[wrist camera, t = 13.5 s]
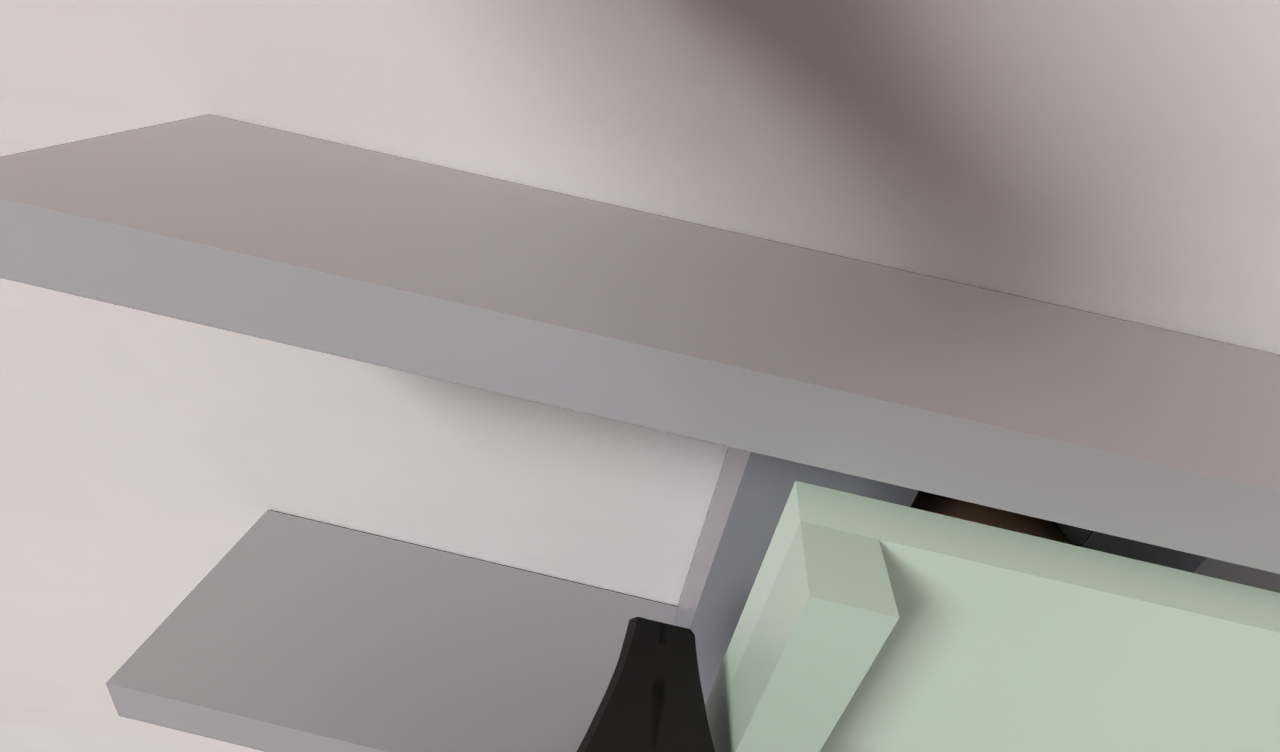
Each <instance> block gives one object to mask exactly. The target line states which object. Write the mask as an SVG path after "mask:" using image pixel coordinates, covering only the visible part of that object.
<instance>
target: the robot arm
mask: <svg viewBox="0 0 1280 752" xmlns="http://www.w3.org/2000/svg"><path fill="white" fill-rule="evenodd" d="M576 752H715V750H714V745H713V741H712V737H711V733H710V728H709V724H708V719H707V714H706V709H705V704H704V698H703V693H702V688H701V682H700V675H699V669H698V661H697V653H696V643H695V635H694V633H693V632H692V631H691V629H688V628H683V627H679V626H675V625H671V624H667V623H662V622H658V621H654V620H650V619H645V618H641V617H635V618H632V619H629V623H628V626H627V630H626V634H625V638H624V641H623V645H622V649H621V652H620V656H619V660H618V663H617V665H616V668H615V671H614V673H613V676H612V678H611V680H610V683H609V685H608V688H607V690H606V692H605V695H604V697H603V699H602V701H601V703H600V705H599V707H598V709H597V711H596V714H595V716H594V718H593V720H592V722H591V724H590V726H589V728H588V730H587V732H586V734H585V736H584V738H583V740H582V742H581V744H580V746H579V748H578V750H577V751H576Z"/></svg>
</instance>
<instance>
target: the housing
mask: <svg viewBox="0 0 1280 752" xmlns="http://www.w3.org/2000/svg"><path fill="white" fill-rule="evenodd" d="M0 278H3V279H8V280H12V281H16V282H20V283H25V284H29V285H33V286H38V287H42V288H46V289H51V290H55V291H59V292H64V293H68V294H72V295H77V296H81V297H85V298H90V299H94V300H98V301H103V302H107V303H111V304H115V305H120V306H124V307H128V308H133V309H137V310H141V311H146V312H150V313H154V314H159V315H163V316H167V317H172V318H176V319H180V320H185V321H189V322H193V323H198V324H202V325H206V326H210V327H215V328H219V329H223V330H228V331H232V332H236V333H241V334H245V335H249V336H254V337H258V338H262V339H267V340H271V341H275V342H280V343H284V344H288V345H293V346H297V347H301V348H305V349H310V350H314V351H318V352H323V353H327V354H331V355H336V356H340V357H344V358H349V359H353V360H357V361H362V362H366V363H370V364H375V365H379V366H383V367H388V368H392V369H396V370H400V371H405V372H409V373H413V374H418V375H422V376H426V377H431V378H435V379H439V380H444V381H448V382H452V383H457V384H461V385H465V386H470V387H474V388H478V389H483V390H487V391H491V392H495V393H500V394H504V395H508V396H513V397H517V398H521V399H526V400H530V401H534V402H539V403H543V404H547V405H552V406H556V407H560V408H565V409H569V410H573V411H578V412H582V413H586V414H590V415H595V416H599V417H603V418H608V419H612V420H616V421H621V422H625V423H629V424H634V425H638V426H642V427H647V428H651V429H655V430H660V431H664V432H668V433H673V434H677V435H681V436H685V437H690V438H694V439H698V440H703V441H707V442H711V443H716V444H720V445H724V446H729V448H728V451H727V455H726V458H725V461H724V464H723V467H722V470H721V473H720V476H719V479H718V482H717V486H716V489H715V492H714V495H713V498H712V501H711V504H710V507H709V510H708V513H707V516H706V520H705V523H704V526H703V529H702V532H701V535H700V538H699V541H698V544H697V547H696V551H695V554H694V557H693V560H692V563H691V566H690V569H689V572H688V575H687V578H686V581H685V585H684V588H683V591H682V594H681V597H680V600H679V603H678V606H677V607H676V606H672V605H668V604H663V603H659V602H655V601H651V600H647V599H642V598H638V597H634V596H630V595H625V594H621V593H617V592H613V591H609V590H604V589H600V588H596V587H592V586H587V585H583V584H579V583H575V582H571V581H566V580H562V579H558V578H554V577H549V576H545V575H541V574H537V573H533V572H528V571H524V570H520V569H516V568H511V567H507V566H503V565H499V564H495V563H490V562H486V561H482V560H478V559H473V558H469V557H465V556H461V555H457V554H452V553H448V552H444V551H440V550H435V549H431V548H427V547H423V546H419V545H414V544H410V543H406V542H402V541H397V540H393V539H389V538H385V537H381V536H376V535H372V534H368V533H364V532H359V531H355V530H351V529H347V528H342V527H338V526H334V525H330V524H326V523H321V522H317V521H313V520H309V519H304V518H300V517H296V516H292V515H288V514H283V513H279V512H275V511H271V510H267V511H266V512H265V513H264V515H263V516H262V517H261V518H260V519H259V520H258V521H257V522H256V523H255V524H254V525H253V526H252V527H251V528H250V530H249V531H248V532H247V533H246V534H245V535H244V536H243V537H242V538H241V539H240V540H239V541H238V542H237V543H236V545H235V546H234V547H233V548H232V549H231V550H230V551H229V552H228V553H227V554H226V555H225V556H224V557H223V558H222V560H221V561H220V562H219V563H218V564H217V565H216V566H215V567H214V568H213V569H212V570H211V571H210V572H209V573H208V575H207V576H206V577H205V578H204V579H203V580H202V581H201V582H200V583H199V584H198V585H197V586H196V587H195V588H194V590H193V591H192V592H191V593H190V594H189V595H188V596H187V597H186V598H185V599H184V600H183V601H182V602H181V603H180V605H179V606H178V607H177V608H176V609H175V610H174V611H173V612H172V613H171V614H170V615H169V616H168V617H167V619H166V620H165V621H164V622H163V623H162V624H161V625H160V626H159V627H158V628H157V629H156V630H155V631H154V632H153V634H152V635H151V636H150V637H149V638H148V639H147V640H146V641H145V642H144V643H143V644H142V645H141V646H140V647H139V649H138V650H137V651H136V652H135V653H134V654H133V655H132V656H131V657H130V658H129V659H128V660H127V661H126V662H125V664H124V665H123V666H122V667H121V668H120V669H119V670H118V671H117V672H116V673H115V674H114V675H113V676H112V677H111V679H110V680H109V681H108V682H107V683H106V685H107V687H108V690H109V692H110V695H111V697H112V700H113V702H114V705H115V707H116V710H117V712H118V715H119V716H122V717H126V718H130V719H134V720H138V721H143V722H147V723H151V724H155V725H159V726H163V727H167V728H171V729H175V730H179V731H183V732H188V733H192V734H196V735H200V736H204V737H208V738H212V739H216V740H220V741H224V742H228V743H233V744H237V745H241V746H245V747H249V748H253V749H257V750H261V751H265V752H576V751H577V750H578V748H579V746H580V744H581V742H582V740H583V738H584V736H585V734H586V732H587V730H588V728H589V726H590V724H591V722H592V720H593V718H594V716H595V714H596V711H597V709H598V707H599V705H600V703H601V701H602V699H603V697H604V695H605V692H606V690H607V688H608V685H609V683H610V680H611V678H612V676H613V673H614V671H615V668H616V665H617V663H618V660H619V656H620V652H621V649H622V645H623V641H624V638H625V634H626V630H627V626H628V623H629V619H632V618H635V617H641V618H645V619H650V620H654V621H658V622H662V623H667V624H671V625H675V626H679V627H683V628H688V629H691V631H692V632H693V633H694V635H695V643H696V653H697V661H698V669H699V675H700V682H701V688H702V693H703V698H704V704H705V703H706V701H707V699H708V696H709V694H710V691H711V689H712V686H713V684H714V681H715V679H716V676H717V674H718V671H719V669H720V666H721V664H722V661H723V659H724V656H725V654H726V651H727V649H728V646H729V644H730V642H731V639H732V637H733V634H734V632H735V629H736V627H737V624H738V622H739V619H740V617H741V614H742V612H743V609H744V607H745V604H746V602H747V599H748V597H749V594H750V592H751V589H752V587H753V585H754V582H755V580H756V577H757V575H758V572H759V570H760V567H761V565H762V562H763V560H764V557H765V555H766V552H767V550H768V547H769V545H770V542H771V540H772V537H773V535H774V532H775V530H776V528H777V525H778V523H779V520H780V518H781V515H782V513H783V510H784V508H785V505H786V503H787V500H788V498H789V495H790V493H791V490H792V488H793V485H794V483H795V481H799V482H804V483H808V484H812V485H816V486H821V487H825V488H829V489H834V490H838V491H842V492H847V493H851V494H855V495H860V496H864V497H868V498H873V499H877V500H881V501H885V502H890V503H894V504H898V505H903V506H907V507H911V505H912V503H913V501H914V499H915V497H916V495H917V494H918V492H919V491H923V492H927V493H932V494H936V495H940V496H945V497H949V498H953V499H958V500H962V501H966V502H971V503H975V504H979V505H983V506H988V507H992V508H996V509H1001V510H1005V511H1009V512H1014V513H1018V514H1022V515H1027V516H1031V517H1035V518H1040V519H1044V520H1048V521H1053V522H1057V523H1061V524H1066V525H1070V526H1074V527H1078V528H1083V529H1087V530H1091V531H1094V532H1093V533H1092V534H1091V536H1090V537H1089V538H1088V540H1087V541H1086V542H1085V544H1084V545H1083V546H1082V547H1084V548H1088V549H1092V550H1097V551H1101V552H1105V553H1109V554H1114V555H1118V556H1122V557H1127V558H1131V559H1135V560H1140V561H1144V562H1148V563H1153V564H1157V565H1161V566H1165V567H1170V568H1174V569H1178V570H1183V571H1187V572H1191V573H1196V574H1200V575H1204V576H1209V577H1213V578H1217V579H1221V580H1226V581H1230V582H1234V583H1239V584H1243V585H1247V586H1252V587H1256V588H1260V589H1265V590H1269V591H1273V592H1277V593H1280V355H1276V354H1272V353H1268V352H1263V351H1259V350H1254V349H1250V348H1245V347H1241V346H1236V345H1232V344H1228V343H1223V342H1219V341H1214V340H1210V339H1205V338H1201V337H1196V336H1192V335H1188V334H1183V333H1179V332H1174V331H1170V330H1165V329H1161V328H1157V327H1152V326H1148V325H1143V324H1139V323H1134V322H1130V321H1125V320H1121V319H1117V318H1112V317H1108V316H1103V315H1099V314H1094V313H1090V312H1085V311H1081V310H1077V309H1072V308H1068V307H1063V306H1059V305H1054V304H1050V303H1045V302H1041V301H1037V300H1032V299H1028V298H1023V297H1019V296H1014V295H1010V294H1005V293H1001V292H997V291H992V290H988V289H983V288H979V287H974V286H970V285H965V284H961V283H957V282H952V281H948V280H943V279H939V278H934V277H930V276H925V275H921V274H917V273H912V272H908V271H903V270H899V269H894V268H890V267H885V266H881V265H877V264H872V263H868V262H863V261H859V260H854V259H850V258H845V257H841V256H837V255H832V254H828V253H823V252H819V251H814V250H810V249H805V248H801V247H797V246H792V245H788V244H783V243H779V242H774V241H770V240H765V239H761V238H757V237H752V236H748V235H743V234H739V233H734V232H730V231H725V230H721V229H717V228H712V227H708V226H703V225H699V224H694V223H690V222H685V221H681V220H677V219H672V218H668V217H663V216H659V215H654V214H650V213H646V212H641V211H637V210H632V209H628V208H623V207H619V206H614V205H610V204H606V203H601V202H597V201H592V200H588V199H583V198H579V197H574V196H570V195H566V194H561V193H557V192H552V191H548V190H543V189H539V188H534V187H530V186H526V185H521V184H517V183H512V182H508V181H503V180H499V179H494V178H490V177H486V176H481V175H477V174H472V173H468V172H463V171H459V170H454V169H450V168H446V167H441V166H437V165H432V164H428V163H423V162H419V161H414V160H410V159H406V158H401V157H397V156H392V155H388V154H383V153H379V152H374V151H370V150H366V149H361V148H357V147H352V146H348V145H343V144H339V143H334V142H330V141H326V140H321V139H317V138H312V137H308V136H303V135H299V134H294V133H290V132H286V131H281V130H277V129H272V128H268V127H263V126H259V125H254V124H250V123H246V122H241V121H237V120H232V119H228V118H223V117H219V116H214V115H210V114H207V115H203V116H198V117H193V118H188V119H183V120H178V121H173V122H168V123H163V124H158V125H154V126H149V127H144V128H139V129H134V130H129V131H124V132H119V133H114V134H109V135H105V136H100V137H95V138H90V139H85V140H80V141H75V142H70V143H65V144H60V145H56V146H51V147H46V148H41V149H36V150H31V151H26V152H21V153H16V154H12V155H7V156H2V157H0Z"/></svg>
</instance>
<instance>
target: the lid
mask: <svg viewBox="0 0 1280 752" xmlns="http://www.w3.org/2000/svg"><path fill="white" fill-rule="evenodd" d="M705 709H706V714H707V719H708V724H709V728H710V733H711V737H712V741H713V745H714V750H715V752H1280V593H1277V592H1273V591H1269V590H1265V589H1260V588H1256V587H1252V586H1247V585H1243V584H1239V583H1234V582H1230V581H1226V580H1221V579H1217V578H1213V577H1209V576H1204V575H1200V574H1196V573H1191V572H1187V571H1183V570H1178V569H1174V568H1170V567H1165V566H1161V565H1157V564H1153V563H1148V562H1144V561H1140V560H1135V559H1131V558H1127V557H1122V556H1118V555H1114V554H1109V553H1105V552H1101V551H1097V550H1092V549H1088V548H1084V547H1079V546H1075V545H1071V544H1066V543H1062V542H1058V541H1053V540H1049V539H1045V538H1041V537H1036V536H1032V535H1028V534H1023V533H1019V532H1015V531H1010V530H1006V529H1002V528H997V527H993V526H989V525H985V524H980V523H976V522H972V521H967V520H963V519H959V518H954V517H950V516H946V515H941V514H937V513H933V512H929V511H924V510H920V509H916V508H911V507H907V506H903V505H898V504H894V503H890V502H885V501H881V500H877V499H873V498H868V497H864V496H860V495H855V494H851V493H847V492H842V491H838V490H834V489H829V488H825V487H821V486H816V485H812V484H808V483H804V482H799V481H795V483H794V485H793V488H792V490H791V493H790V495H789V498H788V500H787V503H786V505H785V508H784V510H783V513H782V515H781V518H780V520H779V523H778V525H777V528H776V530H775V532H774V535H773V537H772V540H771V542H770V545H769V547H768V550H767V552H766V555H765V557H764V560H763V562H762V565H761V567H760V570H759V572H758V575H757V577H756V580H755V582H754V585H753V587H752V589H751V592H750V594H749V597H748V599H747V602H746V604H745V607H744V609H743V612H742V614H741V617H740V619H739V622H738V624H737V627H736V629H735V632H734V634H733V637H732V639H731V642H730V644H729V646H728V649H727V651H726V654H725V656H724V659H723V661H722V664H721V666H720V669H719V671H718V674H717V676H716V679H715V681H714V684H713V686H712V689H711V691H710V694H709V696H708V699H707V701H706V703H705Z"/></svg>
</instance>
